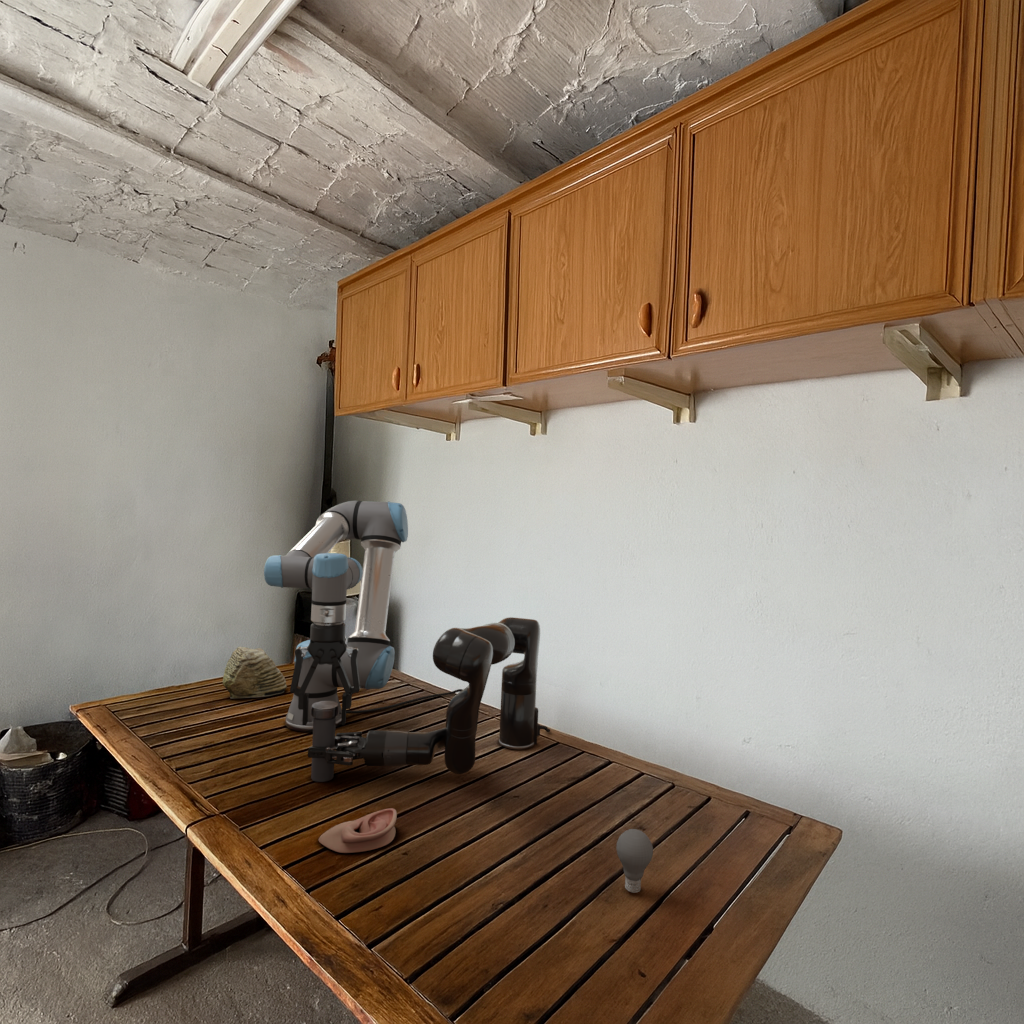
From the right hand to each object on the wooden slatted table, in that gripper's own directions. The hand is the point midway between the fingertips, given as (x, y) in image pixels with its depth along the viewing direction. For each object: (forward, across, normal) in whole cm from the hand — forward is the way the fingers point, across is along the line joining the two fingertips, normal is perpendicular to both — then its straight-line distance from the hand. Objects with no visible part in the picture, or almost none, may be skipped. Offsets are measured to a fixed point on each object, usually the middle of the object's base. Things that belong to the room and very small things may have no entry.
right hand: (311, 747), depth 143 cm
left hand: (-3, 0, -6) cm, 6 cm away
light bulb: (-63, +42, +7) cm, 76 cm away
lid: (-3, 0, -9) cm, 10 cm away
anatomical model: (-15, +26, +7) cm, 30 cm away
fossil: (+31, -58, +7) cm, 66 cm away
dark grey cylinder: (-3, 0, +7) cm, 7 cm away
